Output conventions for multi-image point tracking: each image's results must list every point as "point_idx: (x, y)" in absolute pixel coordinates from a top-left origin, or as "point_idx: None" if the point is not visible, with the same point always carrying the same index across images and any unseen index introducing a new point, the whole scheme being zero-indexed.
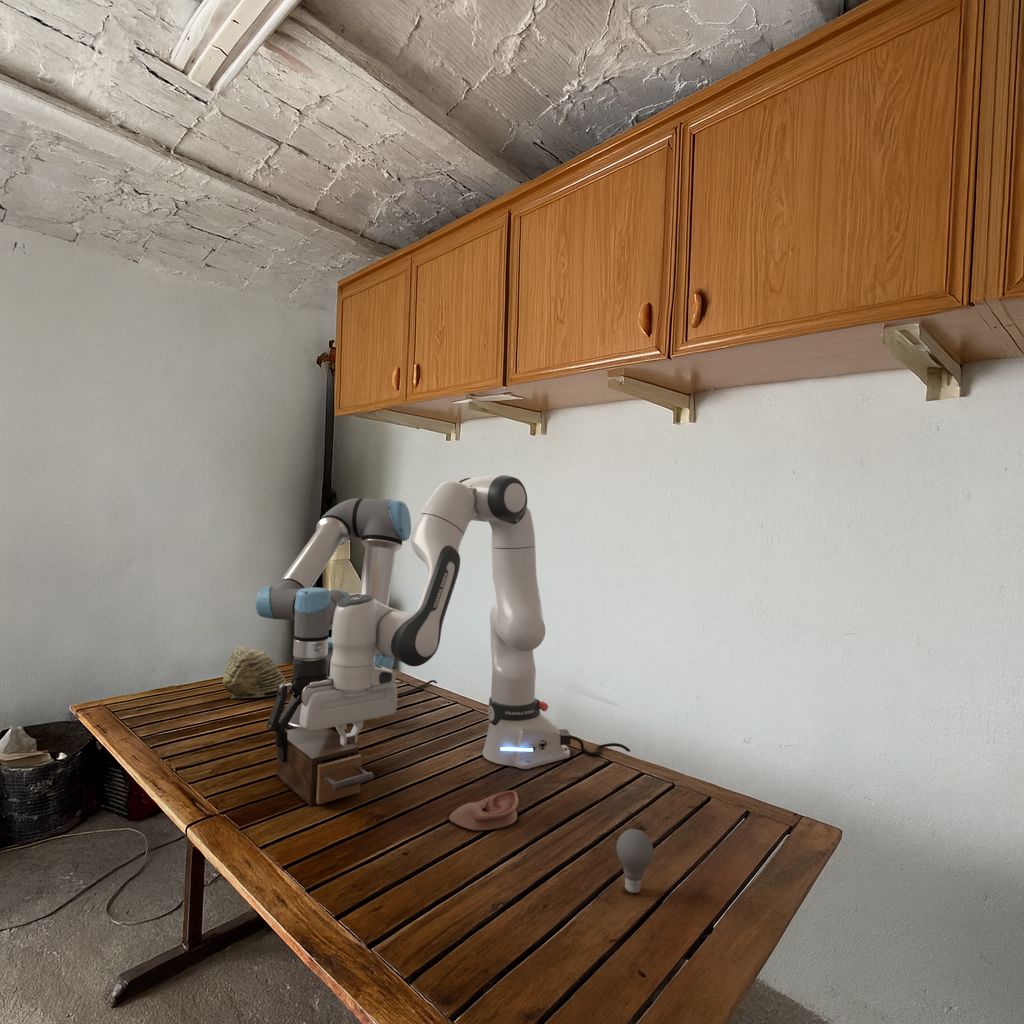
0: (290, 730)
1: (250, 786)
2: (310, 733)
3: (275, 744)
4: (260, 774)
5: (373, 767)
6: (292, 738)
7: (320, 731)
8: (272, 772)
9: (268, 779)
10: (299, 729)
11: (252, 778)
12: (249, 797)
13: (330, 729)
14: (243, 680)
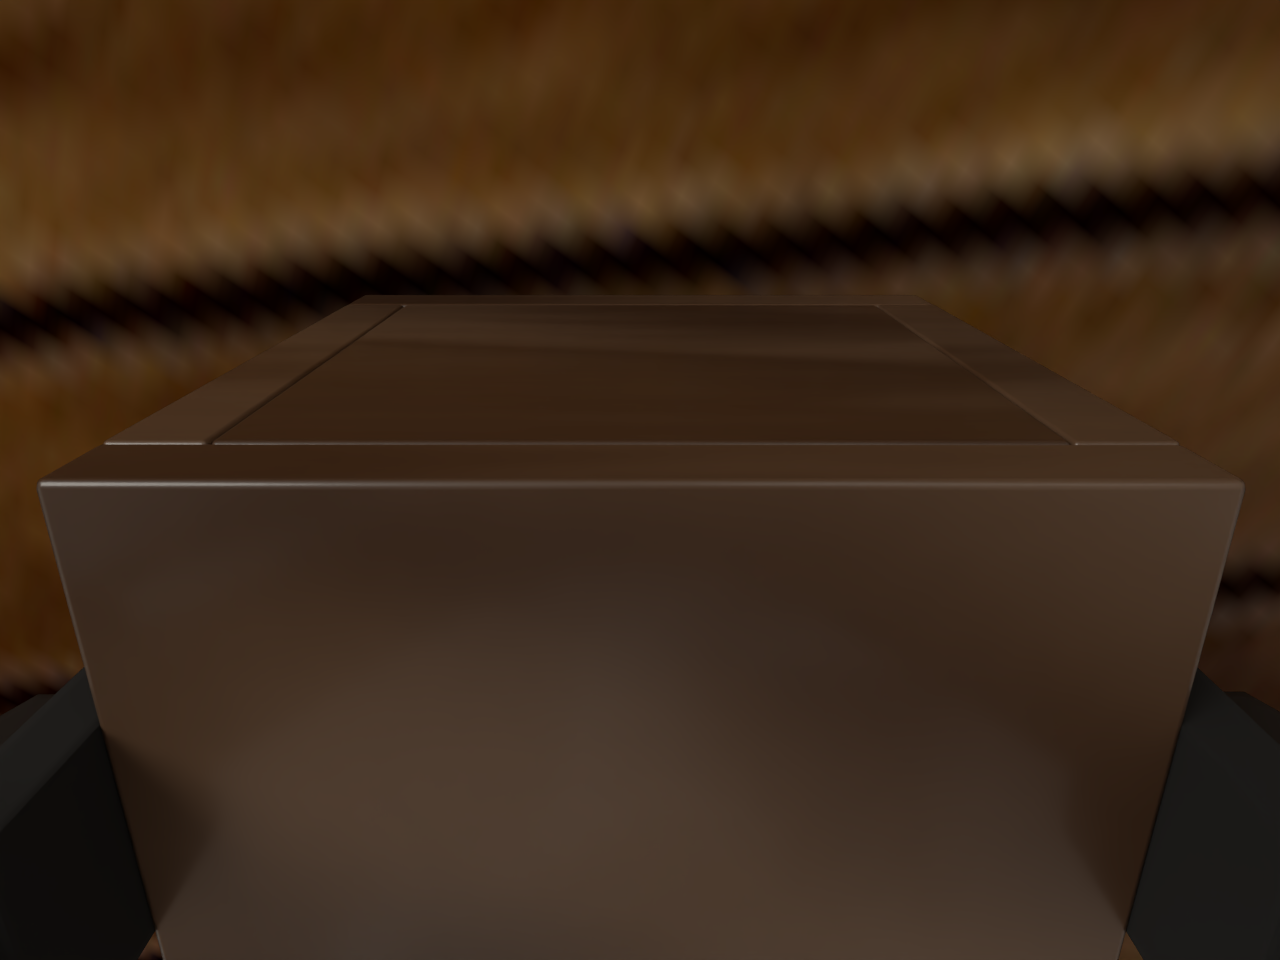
0: (350, 538)
1: (56, 393)
2: (662, 905)
3: (23, 705)
4: (208, 149)
5: (1266, 691)
6: (259, 938)
7: (881, 911)
8: (351, 181)
9: (264, 341)
10: (561, 598)
11: (103, 205)
12: (21, 607)
13: (1100, 920)
14: None
